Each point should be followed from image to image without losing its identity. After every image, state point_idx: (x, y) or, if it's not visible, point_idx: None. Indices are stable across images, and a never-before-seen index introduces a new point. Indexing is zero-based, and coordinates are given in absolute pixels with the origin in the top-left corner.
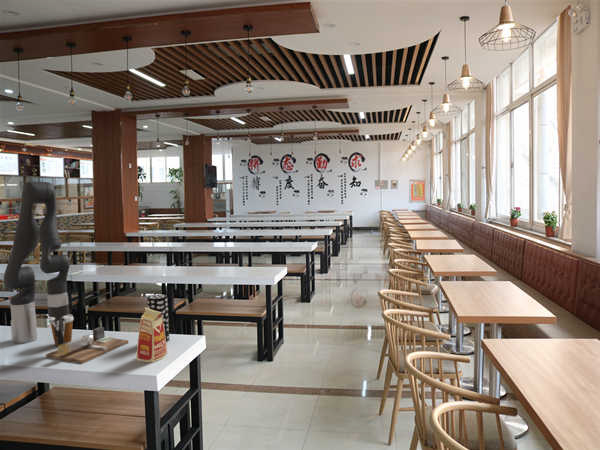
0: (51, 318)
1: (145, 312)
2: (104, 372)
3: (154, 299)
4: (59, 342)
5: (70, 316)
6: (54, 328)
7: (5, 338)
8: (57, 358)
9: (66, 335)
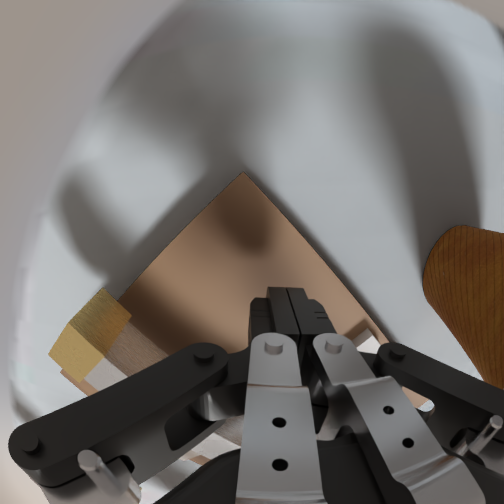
0: None
1: None
2: (11, 387)
3: None
4: (250, 318)
5: None
6: (12, 443)
7: None
8: (156, 257)
9: (455, 327)
